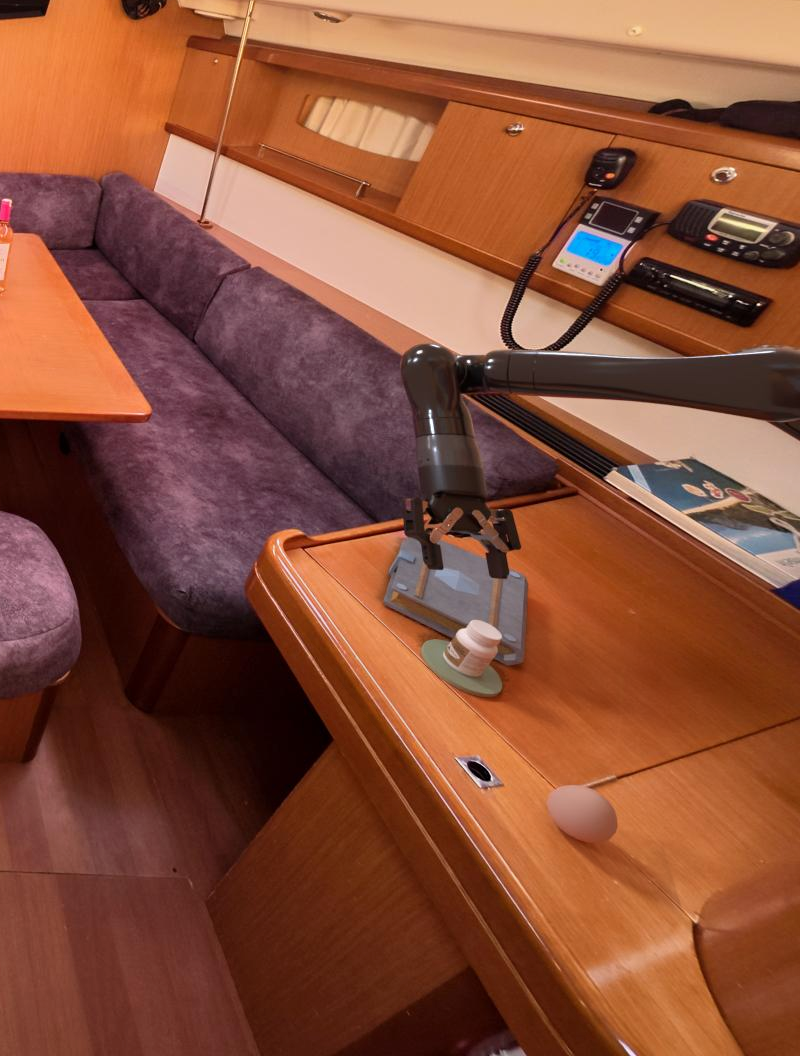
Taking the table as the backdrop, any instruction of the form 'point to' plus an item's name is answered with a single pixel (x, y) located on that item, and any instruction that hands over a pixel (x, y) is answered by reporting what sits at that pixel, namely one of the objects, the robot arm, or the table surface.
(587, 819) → the egg
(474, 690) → the coaster
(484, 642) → the pill bottle
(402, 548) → the book
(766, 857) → the table surface
